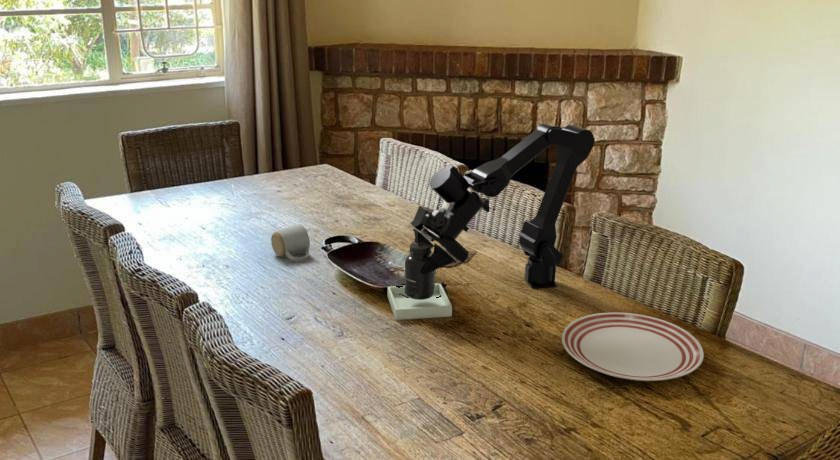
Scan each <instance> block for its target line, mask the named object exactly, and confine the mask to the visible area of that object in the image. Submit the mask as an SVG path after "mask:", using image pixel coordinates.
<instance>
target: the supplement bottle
mask: <svg viewBox="0 0 840 460" xmlns="http://www.w3.org/2000/svg"><path fill="white" fill-rule="evenodd" d="M431 253H433V252H432V248H431V244H430V243H427V242H422V241H419V242H414V241H413V242H411V243H410V244H409V253H408V255H407V256H406V257H405V260H404V262H405V272H404V286H405V294H406V296H408V297H409V298H412V299H416V300H424V299H428V298H431V297H432V296H433V295H434V291H435V284H436V270H434V271H432V272H430V273H428V274H426V275H422V274H421V273H420V272H421V270H422V268H423V267H424V265H425V264H426V262H427V261H428V259H429V258H430V257H431Z"/></svg>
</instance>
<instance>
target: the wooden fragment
mask: <svg viewBox="0 0 840 460" xmlns="http://www.w3.org/2000/svg"><path fill="white" fill-rule="evenodd" d="M467 251H468V252H469V257H468V259H467V260H466V261H465V262H464V263H468V262H469V261H470V260H471V259H472V257H473V256H474V255H476V254H477V253H478V251H477V250H467ZM432 254H433V252H432V253H431V255H432ZM455 260H456V261H457V262H456V263H454V262H453V263H450V264H448V265H445V266H443V268H447V267H455V266H457V265H459V264H462V263H461V262H460V261H458V260H457V259H455ZM464 263H463V264H464ZM393 270H397V271H399V270H400V271H399V272H404V271H405V270H404V269H403V268H402V267H398V266H397V265H395V266H393ZM404 273H405V272H404Z"/></svg>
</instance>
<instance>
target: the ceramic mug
mask: <svg viewBox="0 0 840 460" xmlns="http://www.w3.org/2000/svg"><path fill="white" fill-rule="evenodd" d="M270 241H271V242H270V243H271V246H272V250H273V253H275V255H276V256H277V257H279V258H288V259H289V260H290V261H292V262H295V263H296V262H297V263H301V262H302V263H303V262H306V261H307V259H308V258H309V254H310V244H311V243H310V242H311V240H310V236H309V233H308V230H306V228H305V227H304V225H303V224H301V223H297V224H295V225H291V226H287V227H284V228H281V229H278V230H276V231H274V232H273V233H272V235H271V238H270ZM304 253H306V255H305V256H301V257H297V256H294V255H299V254H304Z"/></svg>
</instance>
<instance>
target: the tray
mask: <svg viewBox="0 0 840 460" xmlns="http://www.w3.org/2000/svg"><path fill="white" fill-rule="evenodd" d="M402 286H403V287H400V288H398V287H396V286H395V285H393V286H387V298H388V301H389V302H388V303H389V305H390V309H391V311H392V314H393V316H394V319H395V321H401V320H402V321H403V320H418V319H432V318H433V319H435V318H447V317H448V318H449V317H453V304H452V303H451V301H450V299H449V297H448V295H447V293H446V291H445V289H444V288H443V286H442V284H441V283H435V291H434V295H433V296H432V297H431V298H428V299H424V300H416V299H412V298H406V297H404V296H402V295H399V294H400V293H405V285H402ZM440 295H441V297H439V296H440ZM436 297H439V298H436Z"/></svg>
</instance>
